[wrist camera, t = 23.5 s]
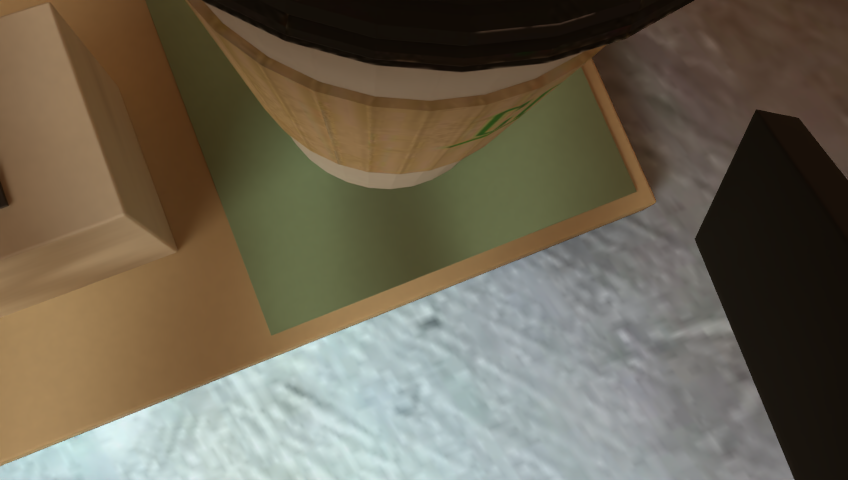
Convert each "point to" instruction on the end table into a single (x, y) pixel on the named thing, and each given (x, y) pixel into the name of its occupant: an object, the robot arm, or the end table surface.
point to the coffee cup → (410, 71)
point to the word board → (230, 214)
